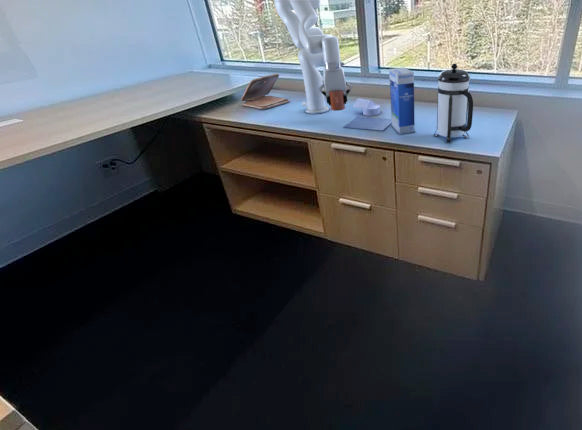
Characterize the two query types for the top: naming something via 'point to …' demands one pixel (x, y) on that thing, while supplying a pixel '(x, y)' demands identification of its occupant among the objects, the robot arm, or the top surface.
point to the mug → (337, 100)
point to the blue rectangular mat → (369, 123)
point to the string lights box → (402, 99)
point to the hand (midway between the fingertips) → (337, 103)
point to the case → (262, 93)
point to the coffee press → (454, 103)
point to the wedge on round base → (367, 107)
